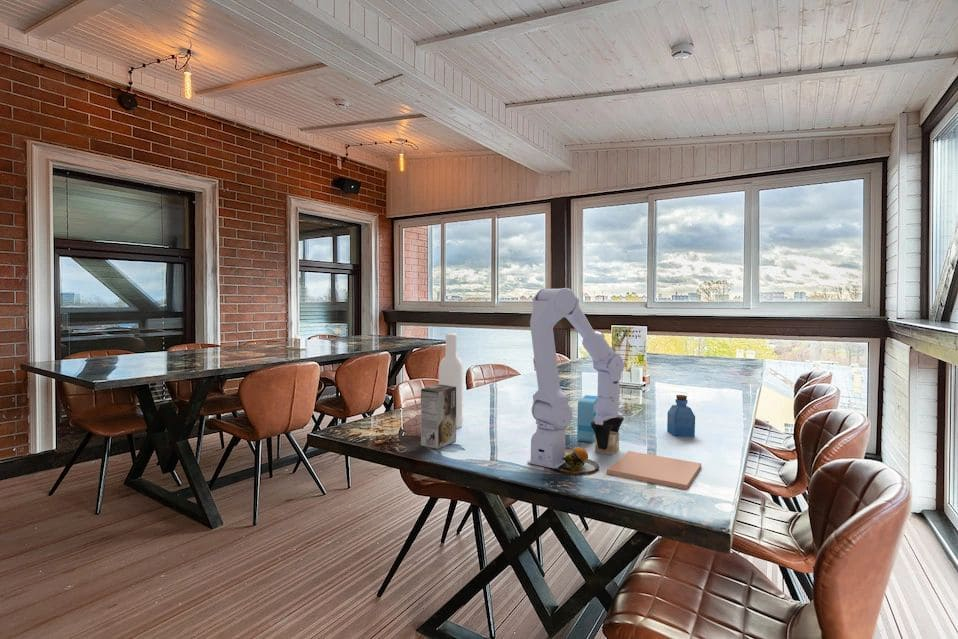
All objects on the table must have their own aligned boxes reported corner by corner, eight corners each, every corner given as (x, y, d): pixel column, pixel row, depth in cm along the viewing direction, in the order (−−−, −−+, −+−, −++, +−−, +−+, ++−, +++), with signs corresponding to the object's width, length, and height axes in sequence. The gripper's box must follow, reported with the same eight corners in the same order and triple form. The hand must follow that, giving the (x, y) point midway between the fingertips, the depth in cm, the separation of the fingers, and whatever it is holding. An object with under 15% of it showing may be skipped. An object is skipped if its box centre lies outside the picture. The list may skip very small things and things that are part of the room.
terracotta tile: (686, 489, 110) (687, 485, 110) (606, 473, 120) (606, 469, 120) (701, 467, 125) (701, 463, 125) (628, 454, 135) (628, 450, 135)
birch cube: (613, 455, 135) (613, 436, 135) (595, 451, 138) (595, 433, 137) (618, 450, 139) (619, 432, 139) (601, 447, 142) (601, 429, 142)
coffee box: (438, 438, 149) (439, 383, 149) (456, 441, 146) (457, 386, 145) (419, 445, 141) (420, 388, 141) (438, 449, 138) (439, 390, 137)
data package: (592, 443, 145) (593, 402, 145) (576, 441, 147) (577, 401, 147) (600, 434, 156) (600, 395, 156) (585, 432, 158) (586, 394, 158)
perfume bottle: (694, 436, 154) (695, 397, 154) (674, 436, 154) (675, 397, 154) (686, 431, 160) (687, 394, 160) (667, 431, 160) (668, 393, 160)
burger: (564, 460, 133) (565, 432, 133) (606, 470, 126) (607, 440, 126) (541, 472, 123) (542, 441, 123) (586, 483, 116) (586, 451, 116)
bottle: (434, 428, 161) (435, 334, 160) (443, 422, 168) (444, 332, 167) (458, 430, 159) (459, 335, 158) (465, 424, 166) (467, 333, 165)
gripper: (614, 402, 130) (613, 454, 130) (630, 394, 142) (629, 441, 142) (587, 399, 133) (586, 450, 134) (606, 391, 146) (605, 437, 146)
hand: (607, 445), depth 138 cm, fingers open, 7 cm apart
